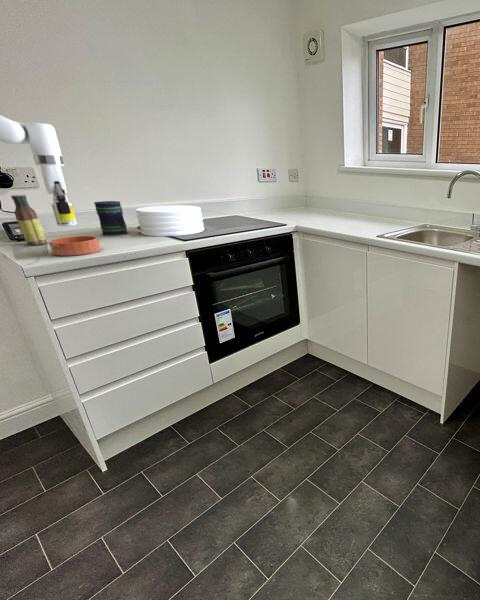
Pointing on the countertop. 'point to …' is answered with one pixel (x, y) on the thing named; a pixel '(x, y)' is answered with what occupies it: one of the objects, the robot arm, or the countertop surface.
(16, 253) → the countertop surface
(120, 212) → the storage jar
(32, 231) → the sauce bottle
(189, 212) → the plate stack
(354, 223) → the countertop surface
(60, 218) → the supplement bottle
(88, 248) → the bowl
